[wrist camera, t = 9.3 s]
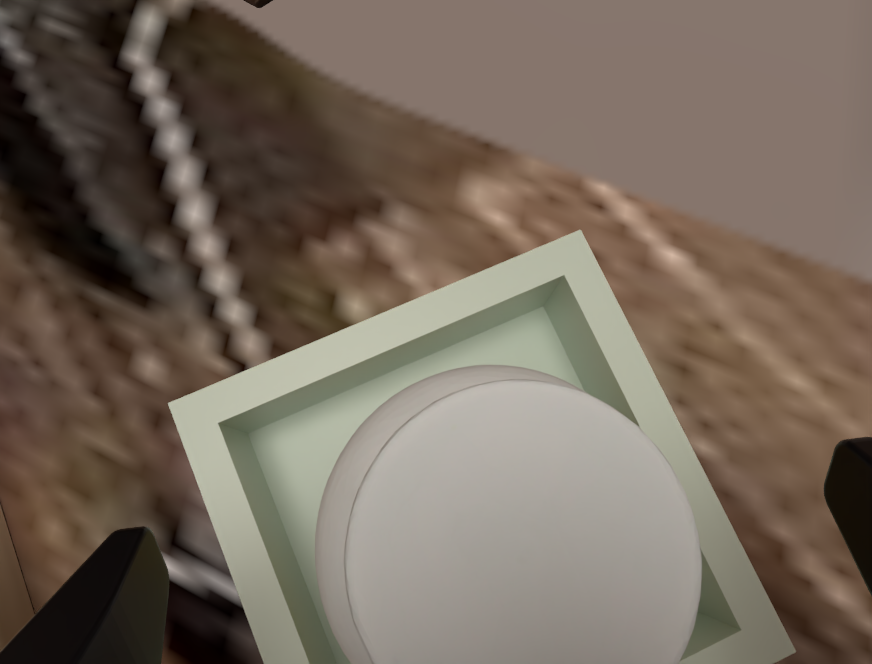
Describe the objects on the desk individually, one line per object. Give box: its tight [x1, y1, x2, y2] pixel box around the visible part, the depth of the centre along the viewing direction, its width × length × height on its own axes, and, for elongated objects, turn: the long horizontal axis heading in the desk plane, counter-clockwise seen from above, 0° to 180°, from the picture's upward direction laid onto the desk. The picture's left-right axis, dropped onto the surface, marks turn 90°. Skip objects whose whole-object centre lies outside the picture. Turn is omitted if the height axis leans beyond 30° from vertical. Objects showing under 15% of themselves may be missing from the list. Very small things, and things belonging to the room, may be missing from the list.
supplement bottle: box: [315, 365, 702, 664], centre depth 13 cm, size 5×5×10 cm
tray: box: [168, 230, 796, 664], centre depth 16 cm, size 10×10×4 cm
